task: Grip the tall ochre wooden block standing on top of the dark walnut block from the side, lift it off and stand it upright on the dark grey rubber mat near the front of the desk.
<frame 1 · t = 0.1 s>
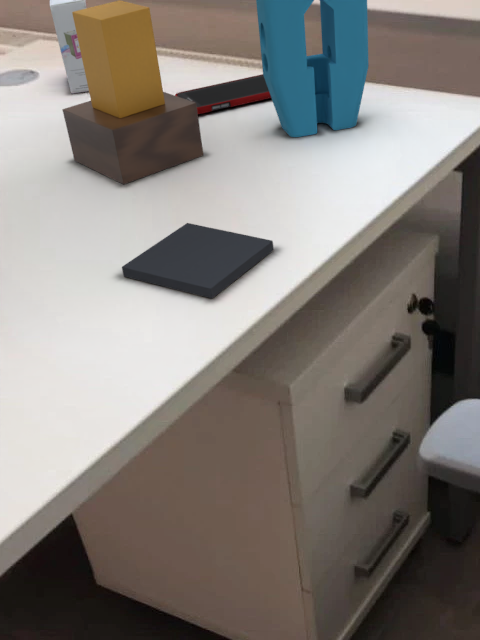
ochre block: (128, 105, 100), point 6 cm above the table, touching walnut block
grey mat: (199, 263, 82), on the table
ink box: (86, 85, 128), on the table
blue slotted bracket: (318, 127, 108), on the table
cell phone: (234, 98, 118), on the table
walnut block: (138, 158, 104), on the table, touching ochre block
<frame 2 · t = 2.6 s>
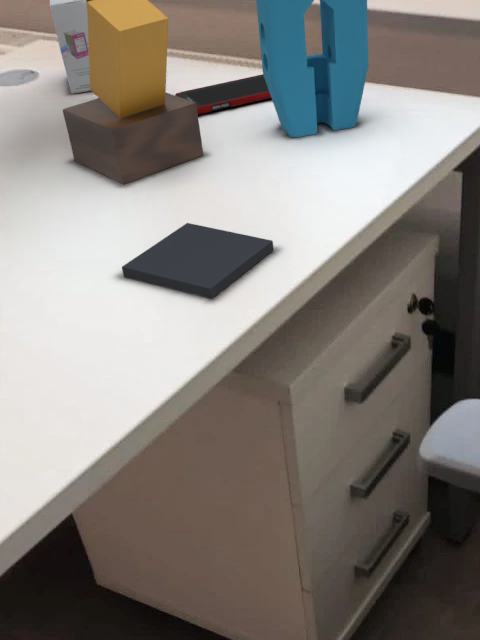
hand: (27, 22, 92), 16 cm above the table, tool tilted 55°, fingers open, 13 cm apart
ochre block: (127, 96, 99), point 7 cm above the table, tilted 20°, touching walnut block
everything else where it was.
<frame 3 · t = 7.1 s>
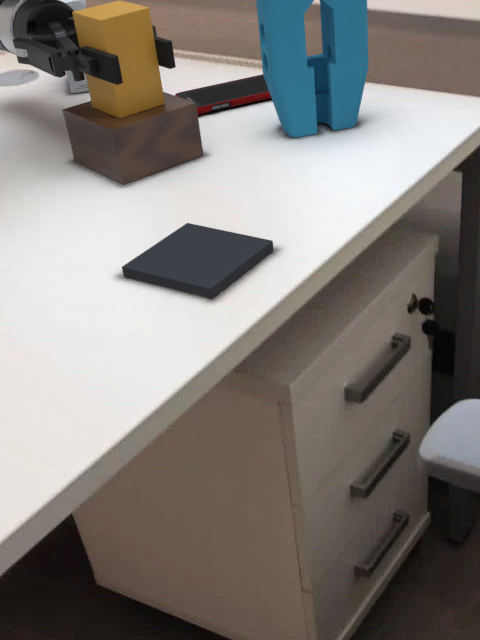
hand: (144, 62, 93), 11 cm above the table, tool horizontal, fingers closed on ochre block, 6 cm apart
ochre block: (128, 105, 100), point 6 cm above the table, touching gripper, walnut block
everything else where it was.
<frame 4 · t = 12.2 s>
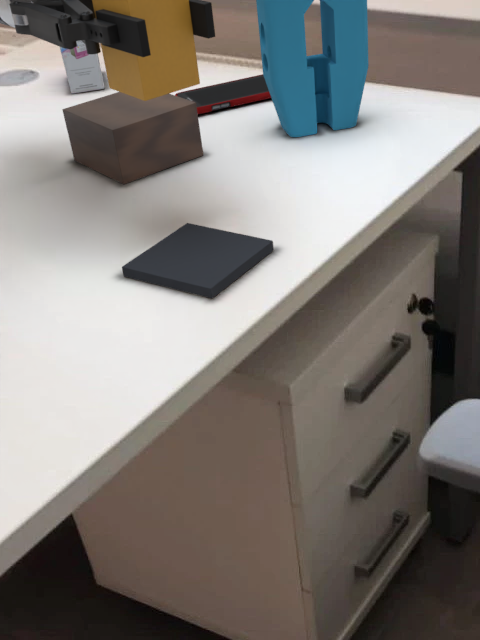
hand: (177, 29, 74), 19 cm above the table, tool horizontal, fingers closed on ochre block, 6 cm apart
ochre block: (154, 86, 80), point 13 cm above the table, touching gripper
walnut block: (138, 158, 104), on the table
everything else where it was.
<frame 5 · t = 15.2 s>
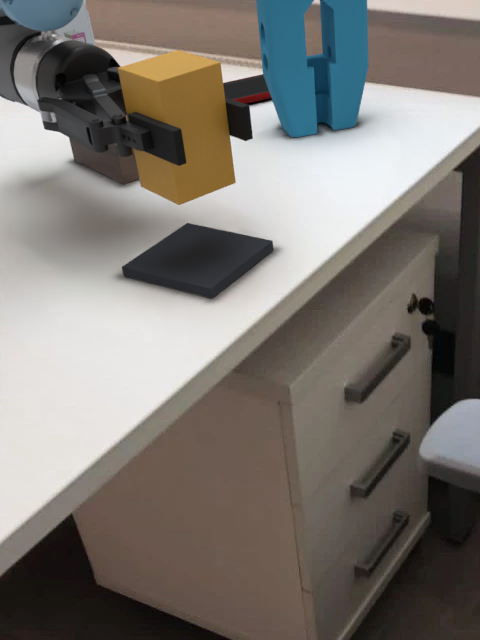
hand: (214, 135, 70), 13 cm above the table, tool horizontal, fingers closed on ochre block, 6 cm apart
ochre block: (188, 185, 77), point 7 cm above the table, touching gripper
everything else where it was.
when the fingers open (6 cm above the table, at t = 17.4 s): ochre block stays where it is, resting on grey mat.
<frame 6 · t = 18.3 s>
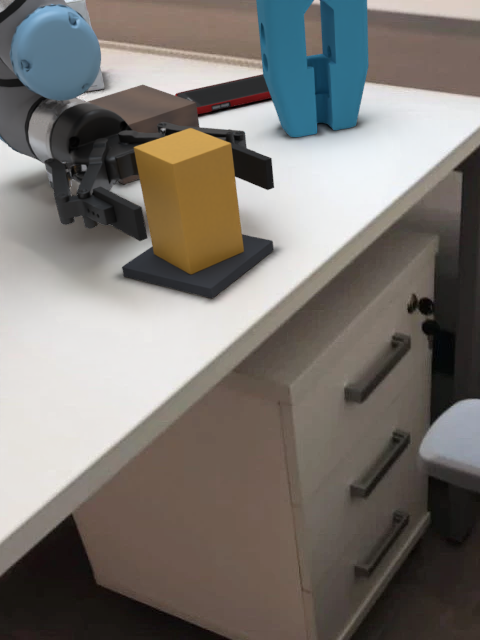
hand: (208, 198, 75), 7 cm above the table, tool horizontal, fingers open, 13 cm apart
ochre block: (198, 253, 81), point 1 cm above the table, touching grey mat
everything else where it was.
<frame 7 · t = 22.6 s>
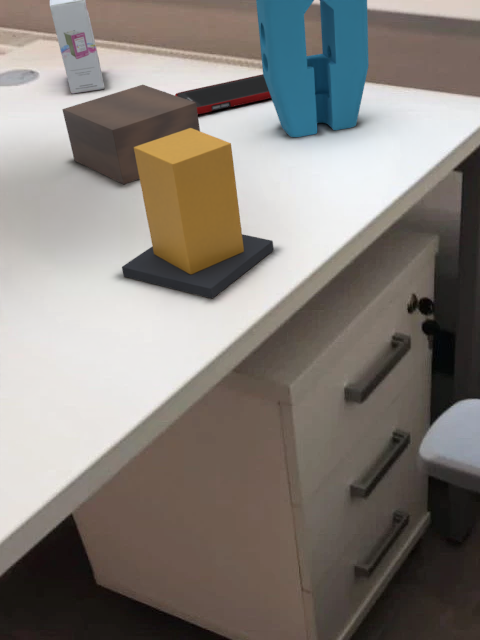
nothing on the table moved.
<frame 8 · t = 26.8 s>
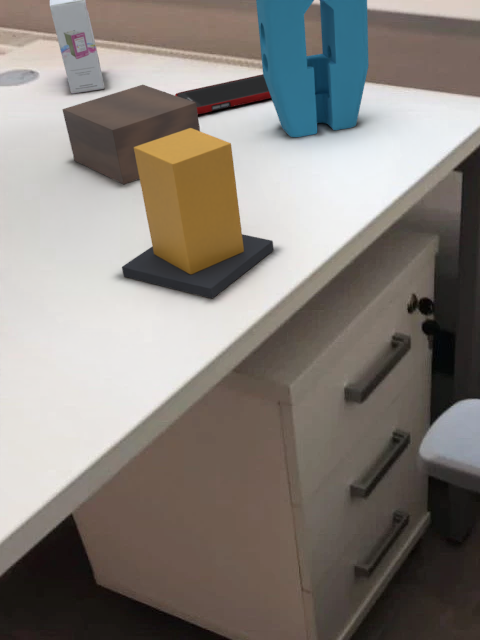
nothing on the table moved.
at the end: ochre block 0.1 cm off-centre on the grey mat, point 1.0 cm above the grey mat's base; ochre block touching grey mat; ochre block tilted 0° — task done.
